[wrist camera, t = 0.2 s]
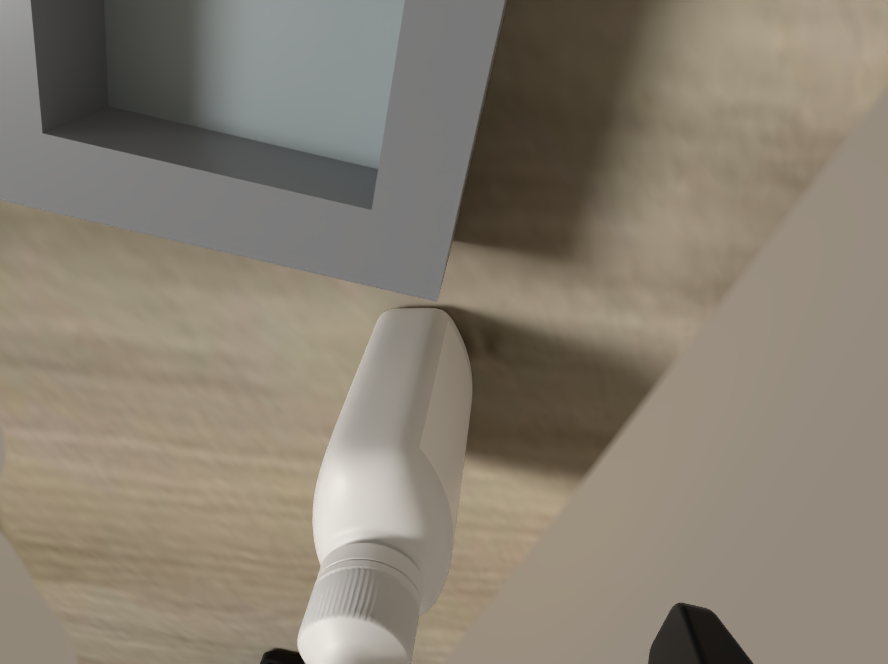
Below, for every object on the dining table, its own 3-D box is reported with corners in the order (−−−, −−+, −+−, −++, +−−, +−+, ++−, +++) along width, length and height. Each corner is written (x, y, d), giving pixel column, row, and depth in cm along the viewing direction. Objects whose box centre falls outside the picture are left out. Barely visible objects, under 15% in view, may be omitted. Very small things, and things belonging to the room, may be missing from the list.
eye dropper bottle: (519, 338, 23) (508, 682, 12) (445, 457, 25) (386, 820, 15) (395, 281, 22) (274, 590, 12) (334, 408, 25) (192, 750, 14)
